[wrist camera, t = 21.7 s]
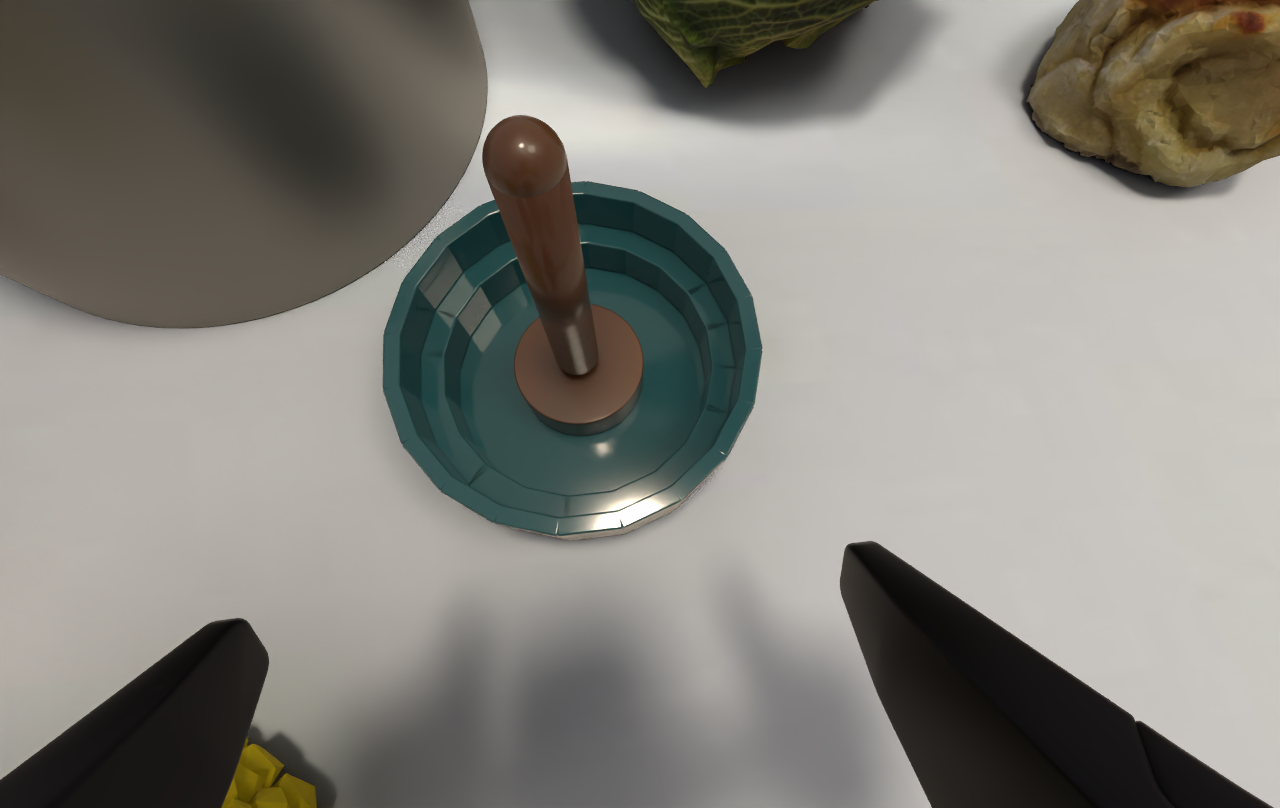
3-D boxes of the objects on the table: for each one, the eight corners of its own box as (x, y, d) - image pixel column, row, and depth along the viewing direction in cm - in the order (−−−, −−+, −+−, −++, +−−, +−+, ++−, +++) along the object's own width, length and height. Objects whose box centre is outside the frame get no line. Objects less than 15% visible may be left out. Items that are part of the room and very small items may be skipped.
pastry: (1033, 189, 26) (1199, 36, 19) (1005, -2, 30) (1136, -197, 22) (1324, 212, 26) (1612, 67, 19) (1262, 18, 30) (1483, -172, 22)
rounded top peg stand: (641, 323, 23) (654, 23, 10) (643, 435, 22) (660, 253, 9) (526, 324, 23) (392, 22, 10) (520, 436, 22) (356, 255, 9)
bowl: (792, 456, 22) (830, 431, 18) (493, 596, 21) (457, 606, 16) (657, 207, 26) (662, 136, 21) (389, 312, 24) (336, 257, 20)
